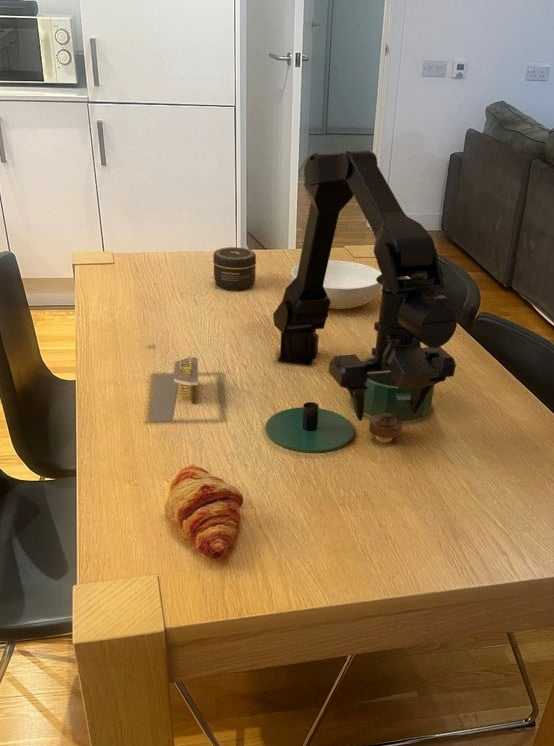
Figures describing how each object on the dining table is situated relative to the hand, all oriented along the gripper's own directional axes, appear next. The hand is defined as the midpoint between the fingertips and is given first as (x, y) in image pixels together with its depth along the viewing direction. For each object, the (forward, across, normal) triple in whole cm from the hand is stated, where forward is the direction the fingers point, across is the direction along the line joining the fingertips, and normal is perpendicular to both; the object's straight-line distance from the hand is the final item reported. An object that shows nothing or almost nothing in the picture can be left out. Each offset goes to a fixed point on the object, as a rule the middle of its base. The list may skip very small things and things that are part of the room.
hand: (386, 416), depth 119 cm
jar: (+5, -5, +78) cm, 78 cm away
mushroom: (+4, 0, 0) cm, 5 cm away
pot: (+4, +6, +11) cm, 14 cm away
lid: (+4, -11, +5) cm, 13 cm away
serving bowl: (+5, +15, +62) cm, 64 cm away
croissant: (+5, -32, -14) cm, 36 cm away
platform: (+5, -27, +23) cm, 36 cm away
